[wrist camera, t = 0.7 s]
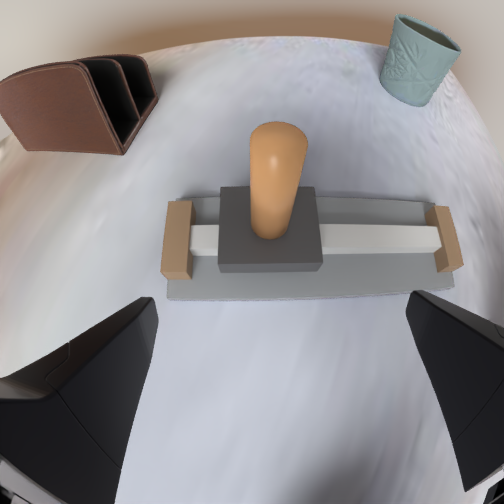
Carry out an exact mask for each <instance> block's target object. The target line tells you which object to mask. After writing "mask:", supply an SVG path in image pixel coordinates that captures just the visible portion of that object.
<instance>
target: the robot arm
mask: <svg viewBox="0 0 504 504" xmlns="http://www.w3.org/2000/svg"><path fill="white" fill-rule="evenodd" d="M406 317H407V320H408V323H409V325H410V328H411V331H412V334H413V337H414V340H415V343H416V346H417V349H418V352H419V354H420V356H421V359H422V361H423V363H424V366H425V368H426V371H427V373H428V375H429V378H430V380H431V383H432V386H433V388H434V391H435V393H436V396H437V399H438V402H439V404H440V407H441V410H442V413H443V416H444V419H445V422H446V425H447V428H448V431H449V434H450V437H451V441H452V443H453V448H454V451H455V455H456V459H457V462H458V466H459V470H460V474H461V479H462V483H463V487H464V491H465V492H467V491H469V490H471V489H472V488H474V487H476V486H477V485H479V484H481V483H482V482H484V481H485V480H487V479H488V478H490V477H492V476H493V475H495V474H496V473H497V472H499V471H500V470H502V469H503V471H504V328H503V327H501V326H499V325H497V324H494V323H492V322H490V321H488V320H486V319H484V318H482V317H480V316H478V315H476V314H474V313H472V312H470V311H467V310H465V309H463V308H461V307H459V306H457V305H455V304H452V303H450V302H448V301H446V300H444V299H442V298H439V297H437V296H435V295H433V294H431V293H428V292H426V291H424V290H413V291H412V292H411V294H410V298H409V301H408V304H407V308H406ZM157 328H158V314H157V310H156V305H155V301H154V299H153V298H152V297H140V298H139V299H137V300H136V301H134V302H132V303H131V304H129V305H127V306H126V307H124V308H122V309H121V310H119V311H117V312H116V313H114V314H113V315H111V316H109V317H108V318H106V319H104V320H103V321H101V322H100V323H98V324H96V325H95V326H93V327H91V328H90V329H88V330H87V331H85V332H83V333H82V334H80V335H79V336H77V337H75V338H74V339H72V340H71V341H69V343H66V344H64V345H63V346H61V347H59V348H58V349H56V350H55V351H53V352H51V353H50V354H48V355H46V356H44V357H42V358H41V359H39V360H37V361H35V362H33V363H31V364H29V365H27V366H26V367H24V368H22V369H20V370H18V371H16V372H14V373H12V374H11V375H8V376H6V377H3V378H0V504H114V503H115V498H116V493H117V488H118V484H119V479H120V475H121V469H122V465H123V461H124V457H125V453H126V448H127V444H128V440H129V437H130V433H131V429H132V425H133V421H134V418H135V414H136V410H137V407H138V403H139V400H140V396H141V393H142V389H143V386H144V383H145V379H146V376H147V373H148V370H149V366H150V363H151V359H152V354H153V348H154V343H155V338H156V333H157ZM483 504H504V478H503V479H502V480H500V481H499V482H497V483H496V484H495V485H493V486H492V487H490V488H489V489H488V492H487V495H486V498H485V500H484V503H483Z"/></svg>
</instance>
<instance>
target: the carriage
mask: <svg viewBox="0 0 504 504" xmlns="http://www.w3.org/2000/svg"><path fill="white" fill-rule="evenodd" d="M307 147H308V141H307V138H306V136H305V134H304V133H303V132H302V131H301V130H300V129H299V128H297V127H295V126H294V125H291V124H288V123H285V122H268V123H265V124H262V125H260V126H258V127H257V128H256V129H255V130H254V131H253V132H252V134H251V137H250V186H247V187H221V190H220V211H219V235H218V267H219V270H220V272H221V273H266V272H317V271H318V269H319V268H320V267H321V265H322V264H323V254H322V244H321V236H320V227H319V219H318V211H317V204H316V196H315V189H314V187H298V185H299V181H300V177H301V173H302V168H303V164H304V160H305V156H306V152H307Z"/></svg>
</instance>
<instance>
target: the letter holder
mask: <svg viewBox="0 0 504 504" xmlns="http://www.w3.org/2000/svg"><path fill="white" fill-rule="evenodd" d="M157 102H158V97H157V93H156V90H155V87H154V84H153V82H152V79H151V75H150V72H149V69H148V65H147V63H146V61H145V60H144V59H143V58H142V57H140V56H136V55H128V54H117V55H103V56H94V57H87V58H83V59H77V60H73V61H67V62H55V63H48V64H44V65H39V66H35V67H31V68H28V69H24V70H22V71H19V72H16V73H14V74H12V75H10V76H8V77H7V78H5V79H3V80H2V81H0V114H1V116H2V118H3V119H4V121H5V122H6V123H7V125H8V126H9V127H10V129H11V130H12V132H13V133H14V135H15V136H16V137H17V139H18V140H19V141H20V143H21V144H22V146H23V147H24V148H25V149H26V150H27V151H64V152H84V153H100V154H113V155H124V154H125V152H126V151H127V149H128V147H129V146H130V144H131V142H132V141H133V139H134V137H135V136H136V134H137V133H138V131H139V129H140V128H141V126H142V124H143V123H144V121H145V120H146V118H147V117H148V115H149V114H150V112H151V111H152V109H153V108H154V106H155V105H156V103H157Z"/></svg>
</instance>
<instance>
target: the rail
mask: <svg viewBox="0 0 504 504" xmlns="http://www.w3.org/2000/svg"><path fill="white" fill-rule="evenodd" d="M316 204H317V211H318V219H319V227H320V236H321V244H322V254H323V264H322V265H321V267H320V268H319V269H318V271H317V272H266V273H221V272H220V270H219V267H218V235H219V211H220V197H203V198H179V199H176V201H171V202H168V209H167V216H166V224H165V232H164V241H163V250H162V260H161V271H160V272H161V273H162V274H163V275H164V276H165V277H166V278H167V279H168V283H167V298H168V299H169V300H180V301H269V300H305V299H329V298H348V297H365V296H380V295H393V294H406V293H411V292H412V291H413V290H424V291H426V292H428V291H438V290H447V289H451V288H453V287H455V286H454V280H453V275H452V271H454V270H456V269H458V268H459V267H461V266H463V265H464V264H463V259H462V255H461V250H460V246H459V242H458V238H457V234H456V231H455V227H454V224H453V220H452V217H451V213H450V210H449V207H446V206H435V203H426V202H414V201H400V200H385V199H366V198H342V197H316Z"/></svg>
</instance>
